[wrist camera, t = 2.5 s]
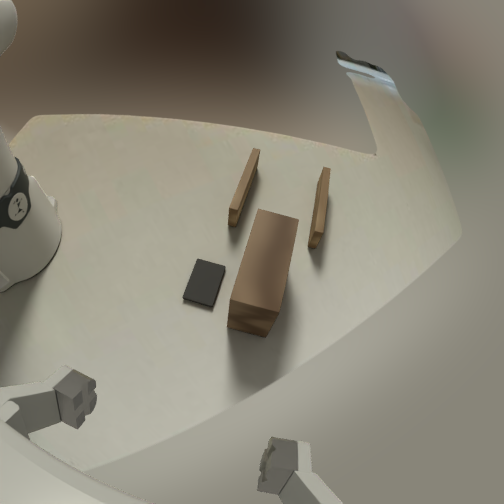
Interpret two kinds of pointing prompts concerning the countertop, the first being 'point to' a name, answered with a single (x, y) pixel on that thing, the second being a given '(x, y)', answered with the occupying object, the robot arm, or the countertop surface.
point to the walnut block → (262, 274)
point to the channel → (319, 205)
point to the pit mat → (204, 282)
